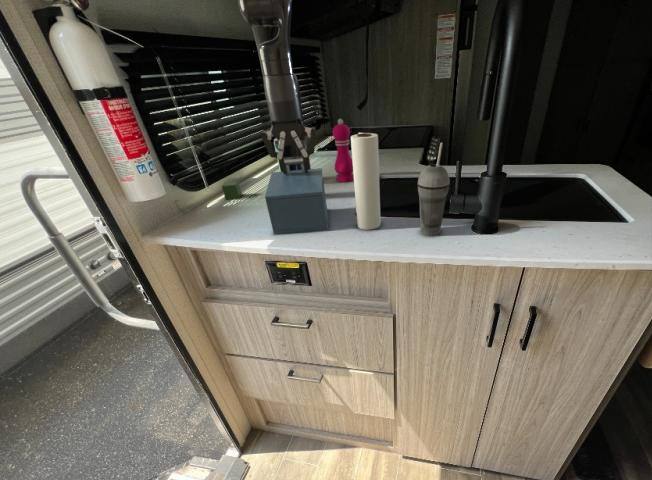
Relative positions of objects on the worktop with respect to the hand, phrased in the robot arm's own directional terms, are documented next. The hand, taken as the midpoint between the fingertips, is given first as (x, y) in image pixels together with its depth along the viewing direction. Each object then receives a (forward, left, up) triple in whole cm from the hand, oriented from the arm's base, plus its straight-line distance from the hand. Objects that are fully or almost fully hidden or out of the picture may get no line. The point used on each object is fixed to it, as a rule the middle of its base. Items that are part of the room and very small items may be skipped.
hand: (296, 172), depth 86 cm
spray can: (-15, -4, -12) cm, 20 cm away
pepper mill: (-31, +14, -12) cm, 36 cm away
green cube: (-22, -25, -12) cm, 36 cm away
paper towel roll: (+13, +18, -12) cm, 25 cm away
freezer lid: (+5, 0, -2) cm, 5 cm away
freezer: (+6, 0, -12) cm, 13 cm away
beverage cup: (+21, +32, -12) cm, 40 cm away
